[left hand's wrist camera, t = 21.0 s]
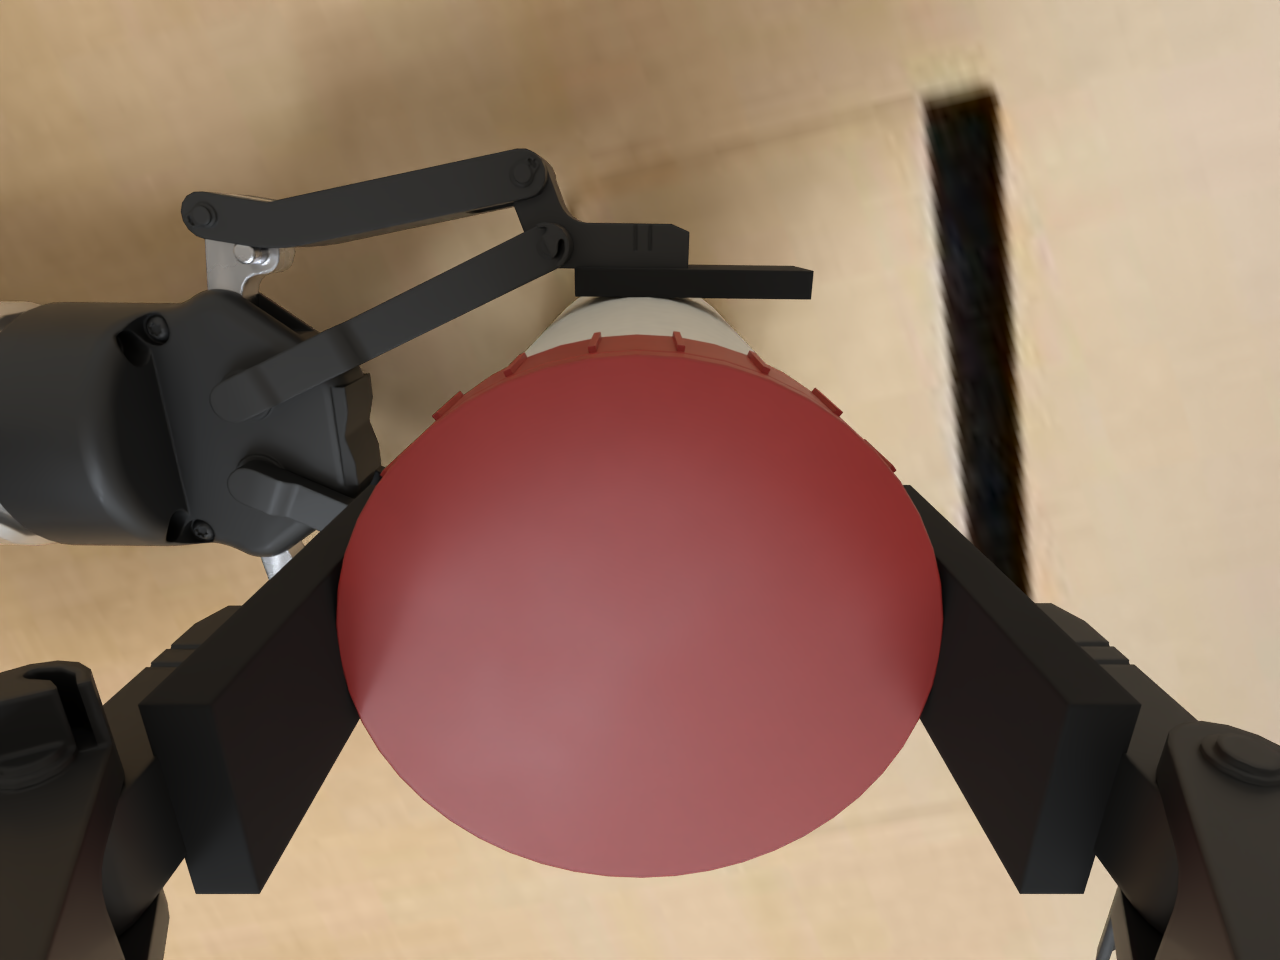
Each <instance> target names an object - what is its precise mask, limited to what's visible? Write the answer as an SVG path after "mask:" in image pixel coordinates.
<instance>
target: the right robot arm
mask: <svg viewBox="0 0 1280 960" xmlns="http://www.w3.org/2000/svg"><path fill="white" fill-rule="evenodd" d="M511 207H515V210H516V212H517V215H518V217H519V220H520V223H521V225H522V228H523V230H524V233H522V234H520V235H518V236H516V237H514V238H512V239H510V240H508V241H506V242H504V243H502V244H500V245H498V246H496V247H494V248H492V249H490V250H488V251H486V252H484V253H482V254H480V255H478V256H476V257H474V258H472V259H470V260H468V261H466V262H464V263H462V264H460V265H458V266H456V267H454V268H452V269H450V270H448V271H446V272H444V273H442V274H440V275H438V276H436V277H434V278H432V279H430V280H428V281H426V282H424V283H422V284H420V285H418V286H416V287H414V288H412V289H410V290H408V291H406V292H404V293H402V294H400V295H398V296H396V297H394V298H392V299H390V300H388V301H386V302H384V303H382V304H380V305H378V306H376V307H374V308H372V309H370V310H368V311H366V312H364V313H362V314H360V315H358V316H356V317H354V318H352V319H350V320H348V321H346V322H343V323H341V324H339V325H336V326H334V327H332V328H330V329H327V330H325V331H323V332H321V333H319V332H318V331H316V330H315V329H313V328H312V327H310V326H309V325H308V324H306V323H305V322H303V321H302V320H300V319H299V318H297V317H296V316H294V315H293V314H291V313H290V312H288V311H287V310H285V309H284V308H282V307H281V306H279V305H278V304H276V303H275V302H273V301H272V300H270V299H269V298H267V297H266V296H264V295H263V294H261V293H259V285H260V282H261V280H262V279H263V278H264V277H265V276H266V275H268V274H270V273H276V272H283V271H285V270H287V269H288V268H289V267H290V266H291V265H292V263H293V261H294V256H295V249H294V247H311V246H325V245H332V244H339V243H343V242H348V241H353V240H358V239H363V238H367V237H372V236H377V235H382V234H386V233H391V232H396V231H401V230H406V229H410V228H415V227H420V226H425V225H429V224H434V223H439V222H444V221H449V220H453V219H458V218H463V217H468V216H473V215H477V214H482V213H487V212H492V211H496V210H501V209H506V208H511ZM181 214H182V218H183V221H184V223H185V225H186V226H187V228H188V229H189V230H190V231H191V232H192V233H193V234H195V235H196V236H198V237H201V238H204V239H205V249H206V267H207V285H208V290H206V291H203V292H201V293H198V294H197V295H195V296H194V297H192V298H191V299H189V300H188V301H186V302H183V303H180V304H174V303H95V302H58V303H50V304H45V305H41V304H36V303H32V302H23V301H0V544H3V545H36V546H38V545H45V544H52V543H61V544H69V545H121V546H178V545H190V544H200V543H221V544H225V545H228V546H231V547H234V548H236V549H239V550H241V551H243V552H245V553H247V554H250V555H253V556H257V557H261V559H262V562H263V565H264V567H265V570H266V573H267V576H268V578H269V580H270V579H271V578H272V577H273V576H274V575H275V574H276V573H277V572H278V571H279V570H280V569H281V568H282V567H284V566H285V565H286V564H287V563H288V562H289V561H290V560H291V559H292V558H293V557H294V556H295V555H296V554H297V553H298V552H299V551H300V550H301V549H302V548H304V547H305V546H304V544H303V542H302V540H303V539H304V538H306V537H307V536H308V535H310V534H311V533H312V532H314V531H315V530H318V531H321V530H323V529H324V528H325V527H326V526H327V525H328V524H329V523H330V522H331V521H332V520H333V519H334V518H335V517H336V516H337V515H338V514H339V513H340V512H342V511H343V510H344V509H345V508H346V507H347V506H348V505H349V504H350V503H351V502H352V501H353V500H354V499H355V498H356V497H357V496H358V495H359V494H361V493H362V492H363V491H364V490H365V489H366V488H367V487H368V486H369V485H377V484H378V483H379V481H380V480H381V479H382V476H380V474H381V473H382V471H383V470H384V469H385V467H383V466H381V459H380V451H379V443H378V441H377V438H376V436H375V433H374V431H373V428H372V426H371V423H370V412H371V405H372V398H373V395H372V387H371V379H370V374H365V373H363V372H362V370H361V368H360V366H359V365H361V364H363V363H365V362H367V361H369V360H371V359H373V358H375V357H377V356H379V355H381V354H383V353H385V352H387V351H389V350H391V349H393V348H395V347H397V346H399V345H401V344H403V343H406V342H408V341H410V340H412V339H414V338H416V337H418V336H420V335H422V334H424V333H426V332H428V331H430V330H432V329H434V328H436V327H438V326H440V325H442V324H444V323H447V322H449V321H451V320H453V319H455V318H457V317H459V316H461V315H463V314H465V313H467V312H469V311H471V310H473V309H475V308H477V307H479V306H481V305H483V304H485V303H487V302H490V301H492V300H494V299H496V298H498V297H500V296H502V295H504V294H506V293H508V292H510V291H512V290H514V289H516V288H518V287H520V286H522V285H524V284H526V283H528V282H530V281H533V280H535V279H537V278H539V277H541V276H543V275H545V274H547V273H549V272H551V271H553V270H555V269H557V268H575V297H655V298H736V299H811V292H812V282H813V272H814V271H811V270H807V269H803V268H799V267H795V266H753V265H688V254H689V232H688V231H686V230H684V229H681V228H679V227H677V226H675V225H672V224H631V223H585V222H582V221H579V220H577V219H576V218H575V217H573V216H572V215H571V214H570V212H569V211H568V210H567V208H566V206H565V204H564V201H563V198H562V195H561V192H560V190H559V187H558V184H557V181H556V175H555V173H554V170H553V168H552V167H551V165H550V164H549V163H548V162H547V161H546V160H544V159H543V158H541V157H540V156H539V155H537V154H536V153H534V152H532V151H530V150H528V149H513V150H508V151H504V152H499V153H494V154H490V155H485V156H480V157H476V158H471V159H467V160H462V161H457V162H453V163H448V164H443V165H439V166H434V167H429V168H425V169H420V170H415V171H411V172H406V173H401V174H397V175H392V176H387V177H383V178H378V179H373V180H369V181H364V182H359V183H355V184H350V185H345V186H341V187H336V188H332V189H327V190H322V191H318V192H313V193H308V194H304V195H299V196H294V197H290V198H285V199H280V200H273V199H267V198H262V197H256V196H248V195H237V194H225V193H213V192H193V193H191V194H189V195H187V196H186V198H185V199H184V201H183V202H182V207H181Z"/></svg>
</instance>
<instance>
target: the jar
mask: <svg viewBox="0 0 1280 960" xmlns="http://www.w3.org/2000/svg"><path fill="white" fill-rule="evenodd" d="M673 331H676V332H680V334H681V336H682V338H686V339H691V340H696V341H702V342H707V343H712V344H716V345H719V346H722V347H725V348H728V349H731V350H734V351H737V352H740V353H743V354H746V355H747V354H748V352H749V350H750V351H753V352H754V350H753V349H752V348H751V347H750V346H749V345H748V344H747V343H746V342H745V341H744V340H743V339H742V338H741V337H740V335H739V334H738V333H737V332H736V331H735V330H734V329H733V328H732V327H731V326H730V325H729V324H728V323H727V322H726V320H725V319H724V318H723V317H722V316H721V315H720V314H719V313H718V312H717V311H716V310H715V309H714V308H713V307H712V306H711V305H709V304H708V303H707V302H706V301H704V300H703V299H702V298H655V297H580V298H578V299H576V300H575V301H574V302H573V303H572V304H570V305H569V306H568V307H567V308H566V309H565V310H564V311H563V312H562V313H561V314H560V315H559V316H558V317H557V318H556V319H555V320H554V321H553V322H552V323H551V325H550V326H549V327H548V328H547V329H546V330H545V331H544V332H543V333H542V334H541V335H540V336H539V337H538V338H537V340H536V341H535V342H534V343H533V344H532V345H531V346H530V347H529V348H528V349H527V350H526V351H525V352H524V353H525V354H526V356H527V357H529V356H532V355H535V354H537V353H540V352H543V351H546V350H549V349H551V348H554V347H557V346H560V345H564V344H569V343H573V342H578V341H583V340H588V339H591V338H592V336H593V334H594V333H596V332H601V337H608V336H621V335H635V334H640V335H658V336H673ZM764 363H765V362H764ZM765 364H766V363H765Z"/></svg>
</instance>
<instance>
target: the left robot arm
mask: <svg viewBox="0 0 1280 960" xmlns="http://www.w3.org/2000/svg"><path fill="white" fill-rule="evenodd" d="M903 486H904V488H905V490H906V492H907V493H908V495H909V497H910V498H911V500H912V502H913V504H914V505H915V507H916V509H917V510H918V512H919V514H920V516H921V519H922V521H923V524H924V526H925V529H926V531H927V534H928V536H929V539H930V541H931V544H932V546H933V549H934V554H935V558H936V562H937V567H938V571H939V576H940V580H941V588H942V604H943V630H942V640H941V646H940V653H939V658H938V663H937V668H936V674H935V678H934V682H933V686H932V689H931V691H930V694H929V696H928V699H927V701H926V704H925V706H924V708H923V711H922V713H921V716H920V720H921V721H922V723H923V725H924V727H925V728H926V730H927V732H928V734H929V735H930V737H931V739H932V741H933V742H934V744H935V746H936V748H937V749H938V751H939V753H940V755H941V756H942V758H943V760H944V762H945V763H946V765H947V767H948V769H949V770H950V772H951V774H952V776H953V777H954V779H955V781H956V783H957V784H958V786H959V788H960V790H961V791H962V793H963V795H964V797H965V798H966V800H967V802H968V804H969V805H970V807H971V809H972V811H973V812H974V814H975V816H976V818H977V819H978V821H979V823H980V825H981V827H982V828H983V830H984V832H985V834H986V835H987V837H988V839H989V841H990V842H991V844H992V846H993V848H994V849H995V851H996V853H997V855H998V856H999V858H1000V860H1001V862H1002V863H1003V865H1004V867H1005V869H1006V870H1007V872H1008V874H1009V876H1010V877H1011V879H1012V881H1013V883H1014V884H1015V886H1016V888H1017V890H1018V891H1019V893H1020V894H1084V891H1085V888H1086V884H1087V881H1088V878H1089V875H1090V871H1091V868H1092V865H1093V862H1094V858H1095V855H1096V856H1097V857H1098V859H1099V860H1100V861H1101V863H1102V864H1103V866H1104V867H1105V868H1106V870H1107V871H1108V872H1109V874H1110V875H1111V877H1112V878H1113V879H1114V881H1115V882H1116V883H1117V885H1118V888H1117V891H1116V894H1115V897H1114V900H1113V903H1112V906H1111V909H1110V912H1109V915H1108V918H1107V921H1106V924H1105V927H1104V930H1103V933H1102V936H1101V939H1100V942H1099V945H1098V949H1097V956H1096V960H1109V959H1110V956H1111V953H1112V951H1113V950H1115V949H1116V955H1117V960H1280V746H1279V745H1277V744H1275V743H1273V742H1271V741H1269V740H1267V739H1265V738H1263V737H1261V736H1259V735H1257V734H1253V733H1250V732H1247V731H1244V730H1241V729H1238V728H1235V727H1232V726H1229V725H1224V724H1217V723H1211V722H1205V721H1198V720H1196V719H1195V718H1194V717H1193V716H1192V715H1191V714H1190V713H1189V712H1187V711H1186V710H1185V709H1184V708H1183V707H1182V706H1181V705H1179V704H1178V703H1177V702H1176V701H1175V700H1174V699H1173V698H1172V697H1170V696H1169V695H1168V694H1167V693H1166V692H1165V691H1164V690H1162V689H1161V688H1160V687H1159V686H1158V685H1157V684H1156V683H1155V682H1153V681H1152V680H1151V679H1150V678H1149V677H1148V676H1147V675H1145V674H1144V673H1143V672H1142V671H1141V670H1140V669H1139V668H1138V667H1136V666H1135V665H1130V664H1129V660H1128V659H1127V658H1126V657H1125V656H1124V655H1123V654H1122V653H1120V652H1119V651H1118V650H1117V649H1116V648H1115V647H1110V646H1109V642H1108V641H1107V640H1106V639H1105V638H1103V637H1102V636H1101V635H1100V634H1099V633H1098V632H1097V631H1096V630H1094V629H1093V628H1092V627H1091V626H1090V625H1089V624H1088V623H1086V622H1085V621H1084V620H1082V619H1080V618H1078V617H1076V616H1074V615H1072V614H1070V613H1069V612H1067V611H1065V610H1063V609H1061V608H1059V607H1057V606H1055V605H1054V604H1052V603H1034V602H1033V601H1032V600H1031V599H1030V598H1029V597H1028V596H1027V595H1026V594H1024V593H1023V592H1022V591H1021V590H1020V589H1019V588H1018V587H1017V586H1016V585H1015V584H1014V583H1013V582H1012V581H1011V580H1010V579H1009V578H1008V577H1007V576H1005V575H1004V574H1003V573H1002V572H1001V571H1000V570H999V569H998V568H997V567H996V566H995V565H994V564H993V563H992V562H991V561H990V560H989V559H988V558H986V557H985V556H984V555H983V554H982V553H981V552H980V551H979V550H978V549H977V548H976V547H975V546H974V545H973V544H972V543H971V542H970V541H969V540H968V539H966V538H965V537H964V536H963V535H962V534H961V533H960V532H959V531H958V530H957V529H956V528H955V527H954V526H953V525H952V524H951V523H950V522H949V521H947V520H946V519H945V518H944V517H943V516H942V515H941V514H940V513H939V512H938V511H937V510H936V509H935V508H934V507H933V506H932V505H931V504H930V503H928V502H927V501H926V500H925V499H924V498H923V497H922V496H921V495H920V494H919V493H918V492H917V491H916V490H915V489H914V488H913V487H912V486H911V485H903ZM375 487H376V485H369V486H368V487H367V488H366V489H365V490H364V491H363V492H362V493H361V494H359V495H358V496H357V497H356V498H355V499H354V500H353V501H352V502H351V503H350V504H349V505H348V506H347V507H346V508H345V509H344V510H343V511H342V512H340V513H339V514H338V515H337V516H336V517H335V518H334V519H333V520H332V521H331V522H330V523H329V524H328V525H327V526H326V527H325V528H324V529H323V530H321V531H320V532H319V533H318V534H317V535H316V536H315V537H314V538H313V539H312V540H311V541H310V542H309V543H308V544H307V545H306V546H305V547H304V548H302V549H301V550H300V551H299V552H298V553H297V554H296V555H295V556H294V557H293V558H292V559H291V560H290V561H289V562H288V563H287V564H286V565H285V566H284V567H282V568H281V569H280V570H279V571H278V572H277V573H276V574H275V575H274V576H273V577H272V578H271V579H270V580H269V581H268V582H267V583H266V584H265V585H263V586H262V587H261V588H260V589H259V590H258V591H257V592H256V593H255V594H254V595H253V596H252V597H251V598H250V599H249V600H248V601H247V602H246V603H244V604H243V605H242V606H227V607H225V608H223V609H222V610H220V611H218V612H216V613H214V614H212V615H210V616H208V617H207V618H205V619H203V620H201V621H199V622H197V623H195V624H194V625H193V626H192V627H191V628H190V629H189V630H187V631H186V632H185V633H184V634H183V635H182V636H181V637H180V638H178V639H177V640H176V641H175V642H174V643H173V644H172V645H171V649H166V650H165V651H164V652H163V653H162V654H160V655H159V656H158V657H157V658H156V659H155V660H154V661H152V662H151V667H146V668H145V669H143V670H142V671H141V672H140V673H139V674H138V675H137V676H136V677H134V678H133V679H132V680H131V681H130V682H129V683H128V684H127V685H125V686H124V687H123V688H122V689H121V690H120V691H119V692H118V693H116V694H115V695H114V696H113V697H112V698H111V699H110V700H109V701H107V702H106V703H105V704H104V705H102V702H101V699H100V696H99V693H98V690H97V687H96V684H95V681H94V678H93V675H92V672H91V669H89V668H88V667H86V666H84V665H83V664H81V663H79V662H69V661H51V662H44V663H36V664H30V665H26V666H22V667H19V668H15V669H12V670H8V671H5V672H1V673H0V960H163V958H164V951H165V944H166V937H167V931H168V924H169V911H168V904H167V900H166V897H165V894H164V891H163V887H164V885H165V884H166V882H167V881H168V880H169V878H170V877H171V876H172V874H173V873H174V871H175V870H176V869H177V867H178V866H179V865H180V863H181V862H182V860H183V859H184V858H185V860H186V863H187V867H188V870H189V873H190V876H191V880H192V883H193V886H194V889H195V893H196V894H260V892H261V890H262V889H263V887H264V885H265V883H266V882H267V880H268V878H269V876H270V875H271V873H272V871H273V869H274V868H275V866H276V864H277V862H278V861H279V859H280V857H281V855H282V854H283V852H284V850H285V848H286V847H287V845H288V843H289V841H290V840H291V838H292V836H293V834H294V833H295V831H296V829H297V827H298V826H299V824H300V822H301V820H302V819H303V817H304V815H305V813H306V812H307V810H308V808H309V806H310V805H311V803H312V801H313V799H314V798H315V796H316V794H317V792H318V791H319V789H320V787H321V785H322V784H323V782H324V780H325V778H326V777H327V775H328V773H329V771H330V770H331V768H332V766H333V764H334V763H335V761H336V759H337V757H338V756H339V754H340V752H341V750H342V749H343V747H344V745H345V743H346V742H347V740H348V738H349V736H350V735H351V733H352V731H353V729H354V728H355V726H356V724H357V722H358V721H359V719H360V717H359V714H358V712H357V710H356V707H355V705H354V703H353V700H352V698H351V696H350V693H349V691H348V687H347V683H346V680H345V676H344V671H343V666H342V661H341V656H340V650H339V643H338V637H337V628H336V614H337V590H338V584H339V579H340V574H341V569H342V564H343V559H344V554H345V551H346V548H347V546H348V543H349V540H350V538H351V535H352V532H353V529H354V527H355V524H356V521H357V519H358V517H359V515H360V513H361V512H362V510H363V508H364V506H365V504H366V503H367V501H368V499H369V497H370V496H371V494H372V492H373V490H374V488H375Z"/></svg>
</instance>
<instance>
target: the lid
mask: <svg viewBox="0 0 1280 960" xmlns="http://www.w3.org/2000/svg"><path fill="white" fill-rule="evenodd" d="M842 413H843V412H842V411H841V410H840V409H839V408H838V407H837V406H836V405H834V404H833V403H832V402H831V401H830V400H829V399H828V398H827V397H826V396H824V395H823V394H822V393H821V392H820V391H819V390H818V389H816V388H814V389H813V391H812V392H811V391H810V390H808V389H807V388H805V387H804V386H802V385H801V384H800V383H798V382H797V381H795V380H794V379H792V378H791V377H789V376H788V375H786V374H785V373H783V372H781V371H779V370H777V369H775V368H773V367H771V366H769V365H767V364H765V363H764V361H763V360H762V359H761V358H760V357H759V356H758V355H757V354H756V353H755V352H753V351H750V350H749V352H748V354H747V355H746V354H743V353H740V352H737V351H734V350H731V349H728V348H725V347H722V346H719V345H716V344H712V343H707V342H702V341H696V340H691V339H686V338H682V336H681V334H680V332H676V331H673V336H658V335H640V334H635V335H621V336H608V337H601V332H596V333H594V334H593V336H592V338H591V339H588V340H583V341H578V342H573V343H569V344H564V345H560V346H557V347H554V348H551V349H549V350H546V351H543V352H540V353H537V354H535V355H532V356H529V357H527V356H526V354H525V353H522V354H520V355H518V357H517V358H516V359H515V360H514V361H513V362H512V363H511V364H510V365H509V366H508V367H506V368H504V369H503V370H501V371H499V372H497V373H495V374H493V375H491V376H490V377H488V378H487V379H486V380H484V381H483V382H481V383H480V384H478V385H477V386H476V387H474V388H473V389H471V390H470V391H469V392H467V393H466V394H464V395H463V394H462V392H461V391H459V392H458V393H457V394H456V395H455V396H453V397H452V398H451V399H450V400H449V401H448V402H447V403H446V404H445V405H443V406H442V407H441V408H440V409H439V410H438V411H437V412H436V413H435V414H433V415H432V417H433V418H434V419H435V420H436V421H435V422H434V423H433V424H432V425H431V426H430V427H429V428H428V429H427V430H426V431H425V432H423V433H422V434H421V435H420V436H419V437H418V438H417V439H416V440H415V441H414V442H413V443H412V444H410V445H409V446H408V447H407V448H406V449H405V450H404V451H403V452H402V453H401V454H400V455H399V456H398V457H397V458H395V459H394V460H393V461H392V462H391V463H390V464H389V465H388V466H387V467H386V468H385V469H384V470H383V471H382V473H381V474H380V476H382V479H381V480H380V481H379V483H378V484H377V485H376V487H375V488H374V490H373V492H372V494H371V496H370V497H369V499H368V501H367V503H366V504H365V506H364V508H363V510H362V512H361V513H360V515H359V517H358V519H357V521H356V524H355V527H354V529H353V532H352V535H351V538H350V540H349V543H348V546H347V548H346V551H345V554H344V559H343V564H342V569H341V574H340V579H339V584H338V590H337V614H336V628H337V637H338V643H339V650H340V656H341V661H342V666H343V671H344V676H345V680H346V683H347V687H348V691H349V693H350V696H351V698H352V700H353V703H354V705H355V707H356V710H357V712H358V714H359V717H360V719H361V721H362V723H363V725H364V726H365V728H366V730H367V731H368V733H369V735H370V736H371V738H372V740H373V741H374V743H375V745H376V746H377V748H378V750H379V751H380V752H381V754H382V755H383V756H384V757H385V759H386V760H387V761H388V763H389V764H390V765H391V766H392V768H393V769H394V770H395V771H396V773H397V774H398V775H399V776H400V777H401V778H402V779H403V780H404V781H405V782H406V783H407V784H408V785H409V786H410V787H411V788H412V789H413V790H414V791H415V792H416V793H417V794H418V795H419V796H420V797H421V798H422V799H423V800H424V801H425V802H427V803H428V804H429V805H431V806H432V807H433V808H434V809H436V810H437V811H438V812H440V813H441V814H442V815H444V816H445V817H446V818H447V819H449V820H450V821H452V822H453V823H455V824H457V825H458V826H460V827H461V828H463V829H465V830H466V831H468V832H470V833H471V834H473V835H475V836H476V837H478V838H480V839H482V840H484V841H486V842H488V843H490V844H493V845H495V846H497V847H499V848H501V849H503V850H505V851H507V852H510V853H512V854H515V855H518V856H521V857H524V858H527V859H530V860H532V861H535V862H538V863H541V864H545V865H549V866H553V867H557V868H562V869H566V870H570V871H574V872H581V873H588V874H595V875H603V876H614V877H638V878H645V877H663V876H678V875H685V874H691V873H698V872H704V871H710V870H714V869H718V868H722V867H726V866H730V865H734V864H738V863H742V862H745V861H747V860H750V859H753V858H756V857H758V856H761V855H764V854H766V853H769V852H772V851H775V850H777V849H779V848H781V847H783V846H785V845H787V844H789V843H791V842H793V841H795V840H797V839H799V838H801V837H803V836H805V835H807V834H808V833H810V832H812V831H813V830H815V829H816V828H818V827H819V826H821V825H823V824H824V823H826V822H827V821H829V820H831V819H832V818H834V817H835V816H836V815H837V814H839V813H840V812H841V811H842V810H844V809H845V808H846V807H847V806H849V805H850V804H851V803H852V802H854V801H855V800H856V799H857V798H859V797H860V796H861V795H862V794H863V793H864V792H865V791H866V790H867V789H868V788H869V787H870V786H871V785H872V784H873V783H874V782H875V781H876V780H877V779H878V777H879V776H880V775H881V774H882V773H883V772H884V771H885V770H886V768H887V767H888V766H889V764H890V763H891V762H892V760H893V759H894V758H895V757H896V755H897V754H898V753H899V751H900V750H901V749H902V747H903V746H904V744H905V742H906V741H907V739H908V737H909V736H910V734H911V732H912V730H913V729H914V727H915V725H916V723H917V722H918V720H919V718H920V716H921V713H922V711H923V708H924V706H925V704H926V701H927V699H928V696H929V694H930V691H931V689H932V686H933V682H934V678H935V674H936V668H937V663H938V658H939V653H940V646H941V640H942V630H943V604H942V588H941V580H940V576H939V571H938V567H937V562H936V558H935V554H934V549H933V546H932V544H931V541H930V539H929V536H928V534H927V531H926V529H925V526H924V524H923V521H922V519H921V516H920V514H919V512H918V510H917V509H916V507H915V505H914V504H913V502H912V500H911V498H910V497H909V495H908V493H907V492H906V490H905V488H904V486H903V485H902V483H901V481H900V480H899V479H898V478H897V476H896V475H895V474H894V472H895V471H896V469H895V467H894V466H893V465H892V464H891V463H890V462H889V461H888V460H887V459H886V458H885V457H884V456H882V455H881V454H880V453H879V452H878V451H877V450H876V449H875V448H874V447H873V446H872V445H871V444H870V443H869V442H867V441H866V440H865V439H863V438H862V437H860V436H859V435H858V434H857V433H856V432H855V431H854V430H853V429H852V428H851V427H850V426H849V425H848V424H847V423H846V422H845V421H843V420H842V419H841V418H840V417H839V416H840V415H841V414H842Z"/></svg>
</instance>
